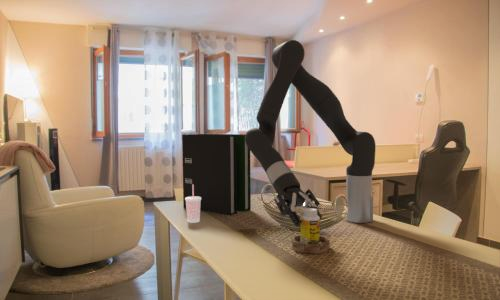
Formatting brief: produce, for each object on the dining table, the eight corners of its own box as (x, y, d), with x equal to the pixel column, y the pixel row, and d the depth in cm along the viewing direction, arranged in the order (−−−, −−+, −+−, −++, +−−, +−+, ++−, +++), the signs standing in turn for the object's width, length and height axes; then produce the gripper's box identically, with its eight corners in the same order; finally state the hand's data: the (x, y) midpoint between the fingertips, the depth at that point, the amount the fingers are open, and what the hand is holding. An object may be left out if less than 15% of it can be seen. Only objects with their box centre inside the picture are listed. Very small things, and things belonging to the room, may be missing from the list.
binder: (251, 210, 165) (251, 134, 163) (228, 216, 153) (227, 135, 151) (206, 202, 182) (205, 133, 180) (182, 207, 170) (180, 134, 168)
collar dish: (325, 242, 119) (325, 233, 119) (331, 254, 108) (331, 244, 108) (290, 242, 119) (290, 233, 119) (293, 254, 109) (293, 244, 109)
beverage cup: (197, 218, 150) (196, 182, 150) (204, 221, 145) (204, 184, 144) (182, 220, 147) (182, 184, 146) (189, 224, 142) (188, 186, 141)
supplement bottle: (309, 247, 110) (309, 212, 110) (296, 243, 115) (296, 208, 114) (323, 244, 113) (323, 209, 113) (310, 239, 118) (311, 206, 117)
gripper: (271, 173, 115) (299, 218, 107) (304, 169, 124) (332, 211, 116) (259, 188, 120) (285, 233, 111) (293, 184, 129) (319, 225, 120)
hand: (309, 222), depth 114 cm, fingers open, 8 cm apart
